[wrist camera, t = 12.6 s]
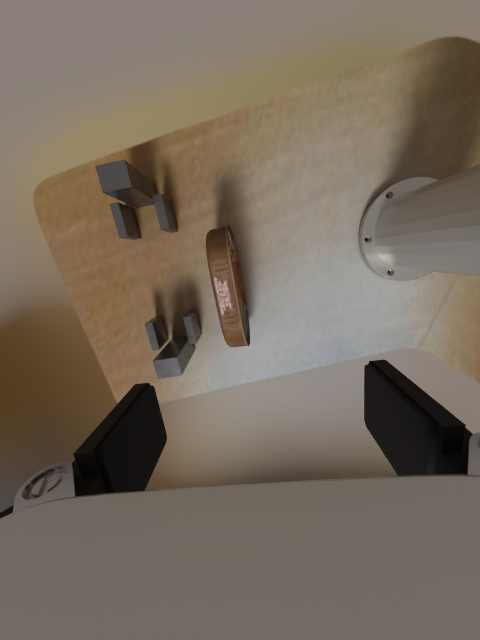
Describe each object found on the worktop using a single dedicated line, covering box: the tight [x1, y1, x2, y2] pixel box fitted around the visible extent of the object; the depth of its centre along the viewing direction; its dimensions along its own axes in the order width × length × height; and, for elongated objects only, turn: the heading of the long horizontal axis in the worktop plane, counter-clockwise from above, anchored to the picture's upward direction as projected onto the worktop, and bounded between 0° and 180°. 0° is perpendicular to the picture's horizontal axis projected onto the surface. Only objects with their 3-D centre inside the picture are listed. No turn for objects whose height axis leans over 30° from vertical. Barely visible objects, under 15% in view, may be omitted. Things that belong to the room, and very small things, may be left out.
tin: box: [206, 225, 250, 347], centre depth 30 cm, size 15×3×8 cm, turn 10°
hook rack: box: [95, 160, 202, 379], centre depth 30 cm, size 6×23×8 cm, turn 10°
